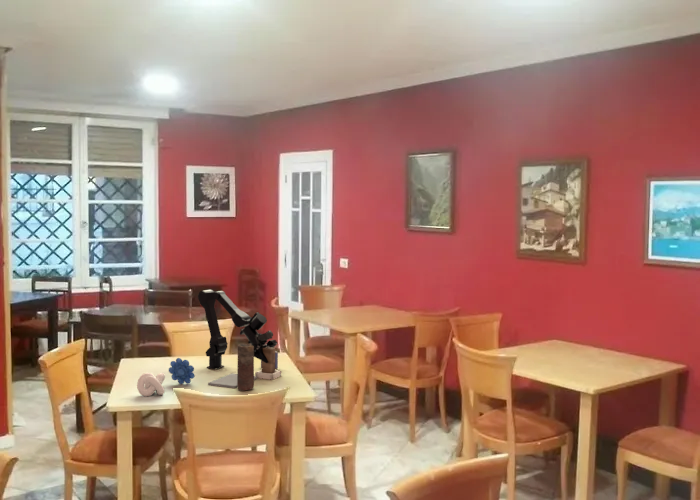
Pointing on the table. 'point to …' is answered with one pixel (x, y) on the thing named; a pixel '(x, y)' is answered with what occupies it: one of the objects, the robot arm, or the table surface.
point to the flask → (275, 360)
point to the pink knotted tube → (150, 384)
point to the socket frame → (268, 374)
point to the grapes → (181, 371)
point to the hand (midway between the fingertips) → (270, 361)
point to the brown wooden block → (269, 360)
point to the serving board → (227, 381)
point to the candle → (245, 367)
